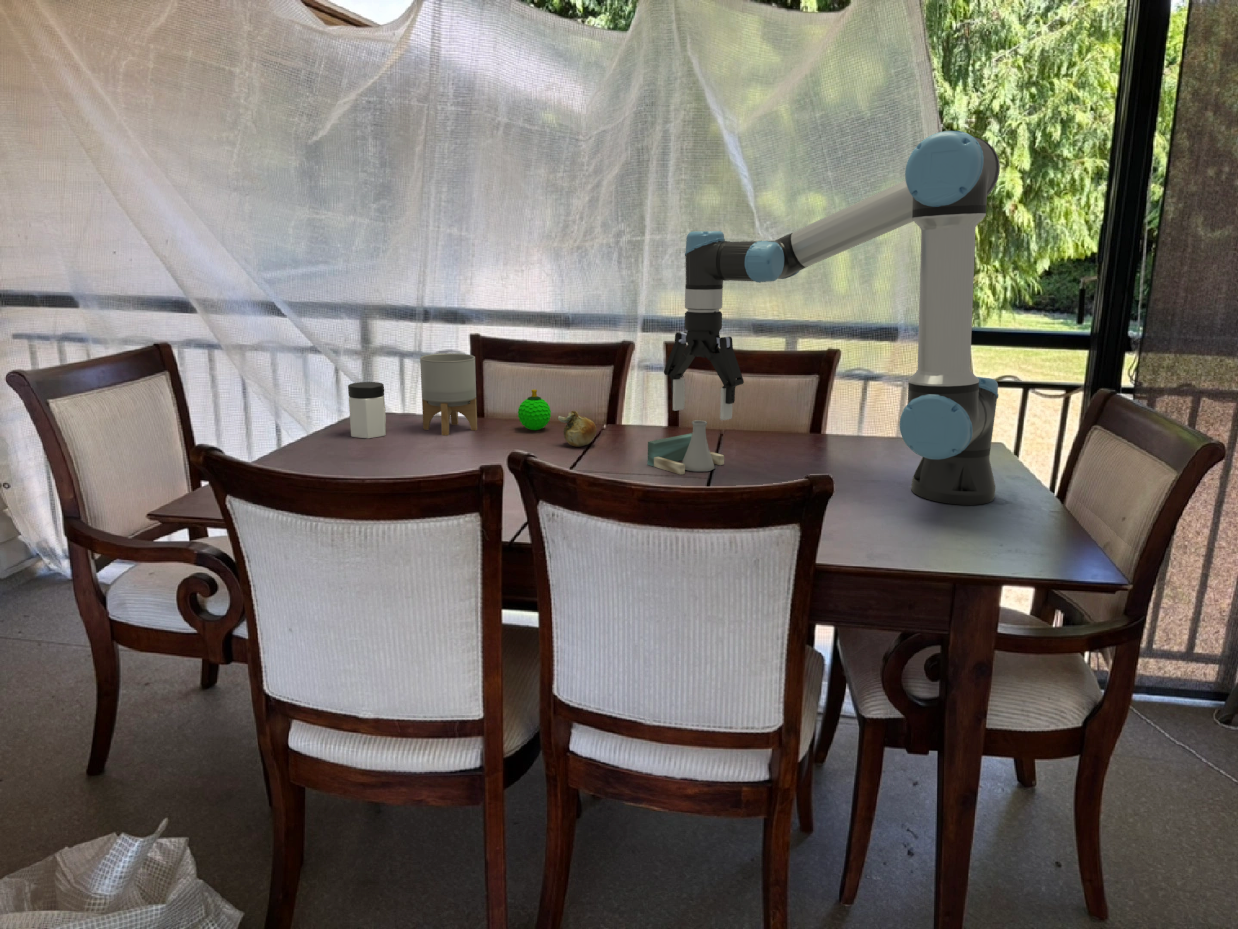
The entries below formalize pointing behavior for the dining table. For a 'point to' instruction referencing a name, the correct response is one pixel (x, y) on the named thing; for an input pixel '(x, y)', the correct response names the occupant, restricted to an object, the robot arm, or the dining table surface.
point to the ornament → (534, 412)
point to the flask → (698, 449)
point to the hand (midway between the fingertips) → (701, 414)
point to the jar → (367, 409)
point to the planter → (448, 389)
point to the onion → (578, 429)
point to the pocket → (673, 453)
